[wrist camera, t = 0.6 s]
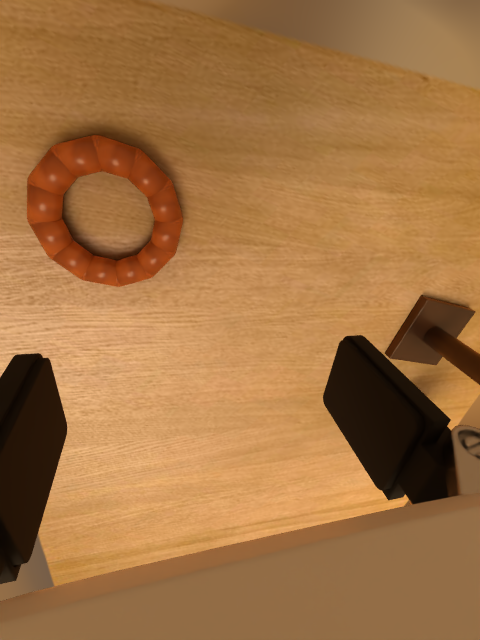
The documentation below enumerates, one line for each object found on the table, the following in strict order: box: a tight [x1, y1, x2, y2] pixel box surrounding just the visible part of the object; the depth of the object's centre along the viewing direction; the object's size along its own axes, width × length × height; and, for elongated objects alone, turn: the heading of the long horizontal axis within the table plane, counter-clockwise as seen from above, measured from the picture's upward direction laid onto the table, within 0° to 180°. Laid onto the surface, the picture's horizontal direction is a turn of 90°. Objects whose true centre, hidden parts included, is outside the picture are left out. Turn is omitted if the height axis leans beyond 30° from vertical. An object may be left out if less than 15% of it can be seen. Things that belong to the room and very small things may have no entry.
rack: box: [385, 296, 480, 385], centre depth 33 cm, size 8×8×9 cm
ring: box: [27, 135, 183, 287], centre depth 22 cm, size 10×10×2 cm
